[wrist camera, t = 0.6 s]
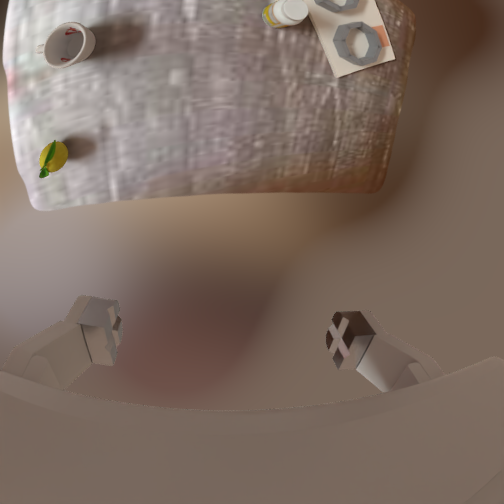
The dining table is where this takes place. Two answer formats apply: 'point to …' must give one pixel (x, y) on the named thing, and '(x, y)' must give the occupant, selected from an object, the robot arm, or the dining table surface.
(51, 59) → the cup
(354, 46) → the socket board
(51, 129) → the dining table surface
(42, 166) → the lemon
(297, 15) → the supplement bottle
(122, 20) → the dining table surface
